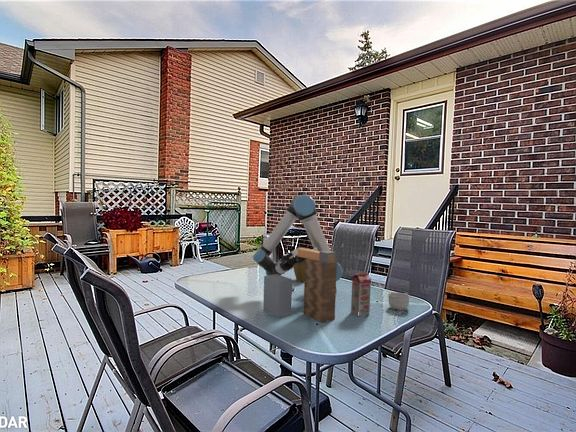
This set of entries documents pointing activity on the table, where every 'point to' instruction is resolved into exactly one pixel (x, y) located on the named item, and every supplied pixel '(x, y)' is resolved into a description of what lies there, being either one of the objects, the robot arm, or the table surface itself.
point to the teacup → (399, 300)
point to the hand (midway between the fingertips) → (306, 250)
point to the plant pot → (299, 271)
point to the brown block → (317, 255)
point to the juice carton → (361, 294)
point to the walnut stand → (320, 290)
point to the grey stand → (277, 295)
